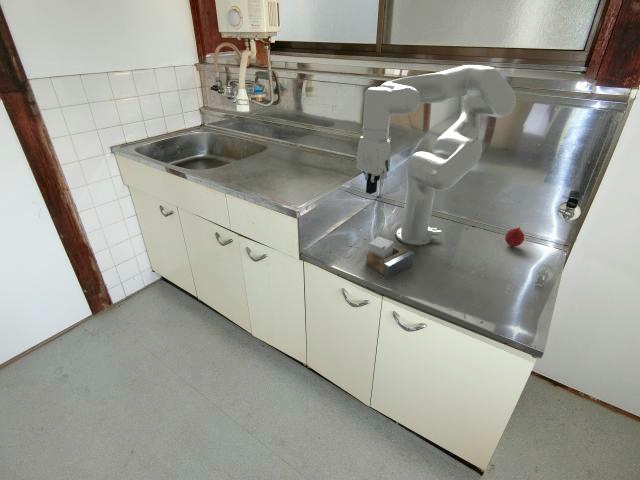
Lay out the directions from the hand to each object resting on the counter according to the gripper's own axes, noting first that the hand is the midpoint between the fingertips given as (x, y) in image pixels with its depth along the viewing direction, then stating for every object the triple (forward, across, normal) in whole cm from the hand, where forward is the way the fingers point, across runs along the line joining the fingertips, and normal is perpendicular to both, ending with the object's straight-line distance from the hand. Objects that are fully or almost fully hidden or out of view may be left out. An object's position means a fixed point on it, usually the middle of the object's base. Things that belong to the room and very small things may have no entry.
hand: (371, 192), depth 114 cm
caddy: (+22, +9, -1) cm, 24 cm away
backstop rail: (+22, +14, -1) cm, 26 cm away
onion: (+23, +31, +42) cm, 57 cm away
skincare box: (+22, +7, -1) cm, 23 cm away
